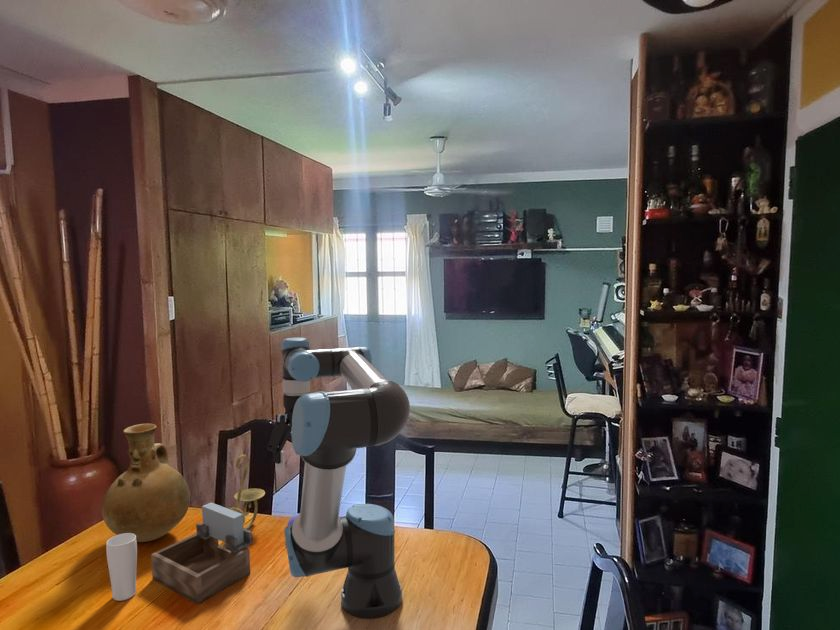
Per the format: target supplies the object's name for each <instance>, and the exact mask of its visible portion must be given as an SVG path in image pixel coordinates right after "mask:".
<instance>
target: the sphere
mask: <svg viewBox="0 0 840 630" xmlns="http://www.w3.org/2000/svg"><path fill="white" fill-rule="evenodd" d="M299 514H300V512H299V513H295V514H293V515H292V516H291V517H289V519H288V521H287V525H286V527H287V526H290V525H291V524H293V522H294V520H295V518H296V517H297V516H298V515H299Z"/></svg>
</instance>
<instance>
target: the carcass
mask: <svg viewBox="0 0 840 630" xmlns="http://www.w3.org/2000/svg"><path fill="white" fill-rule="evenodd" d="M195 526H196V533H194V534H192V535H189V536H187V537H186V538H183V539H181V540H179V541H177V542H175V543H172V544H170V545H168V546H166V547H163V548H162V549H160V550H157V551H155V552H153V553H151V555H150V557H151V575H152V578H151V579H152V580H153V581H156V582H157V583H159V584H161V585H162V586H164V587H166V588H168V589H170V590H171V591H174V592H175V593H177V594H179V595H180V596H182V597H184V598H186V599H187V600H189V601H191V602H193V603H195V604H197V605H199V604H202V603H203V602H205V601H206V600H209V598H212V597H213V596H215V595H216V594H218V593H220V592H222V591H223V590H225V589H227V588H228V587H230V586H232V585H234V584H235V583H237V582H239V581H241V580H242V579H244V578H245V577H247V576H249V575H250V574H251V556H250V555H251V554H250V548H248V547H249V546H251V545H253V531H252V530H249V529H248V530H247V529H244V528H245V527H243V530H244V542H243V543H241V544H239V545H238V541H237V539H236V538H234V537H232V536H229V535H227V536H225V539H226V543H225V546H223V545H221V544H219V540H218V539H215V538H213V537H211V536H209V535H208V528H207V526H205V525H203V523H200V522H197V523H196V525H195Z"/></svg>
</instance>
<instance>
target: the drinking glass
mask: <svg viewBox="0 0 840 630" xmlns="http://www.w3.org/2000/svg"><path fill="white" fill-rule="evenodd" d="M105 544H106V545H105V547H106V548H105V549H106V550H105V552H106V553H105V554H106V562H107V567H108V575H109V581H110V586H111V595H112V599H113V600H114V601H117V602H118V601H119V602H122V601H126V600H129V599H131V598H132V597H134V596H135V594H136V592H137V567H138V566H137V564H138V562H137V561H138V543H137V540H136V535H135V534H132V533H123V534H119V535H116V534H115V535H114V536H113V535H112V537H110V538H108V539H107V540H106V543H105Z"/></svg>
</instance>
